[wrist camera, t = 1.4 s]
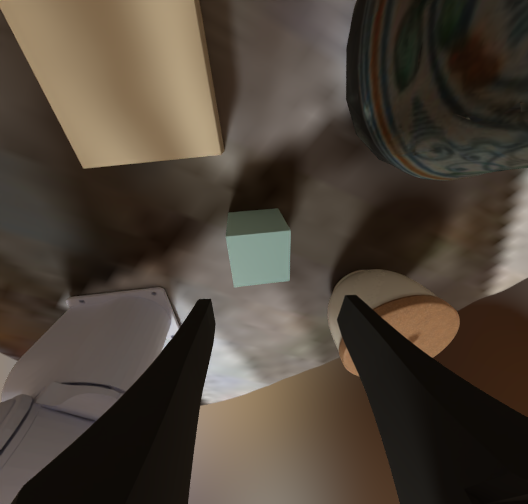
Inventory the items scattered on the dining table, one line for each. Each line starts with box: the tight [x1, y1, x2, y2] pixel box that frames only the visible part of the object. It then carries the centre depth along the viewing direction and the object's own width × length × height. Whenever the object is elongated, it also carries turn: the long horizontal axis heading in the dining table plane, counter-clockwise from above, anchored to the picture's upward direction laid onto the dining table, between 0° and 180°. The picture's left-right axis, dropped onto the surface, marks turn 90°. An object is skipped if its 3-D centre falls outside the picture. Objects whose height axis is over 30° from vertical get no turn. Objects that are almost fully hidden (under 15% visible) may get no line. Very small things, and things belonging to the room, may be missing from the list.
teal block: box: [226, 208, 291, 287], centre depth 17 cm, size 4×4×5 cm
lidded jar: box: [327, 269, 460, 376], centre depth 20 cm, size 11×11×9 cm
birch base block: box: [0, 0, 224, 169], centre depth 11 cm, size 8×8×4 cm
